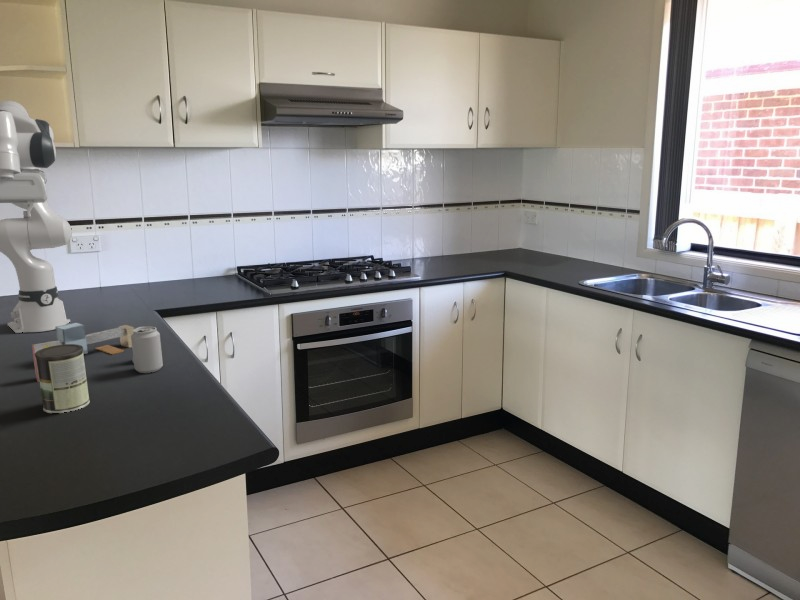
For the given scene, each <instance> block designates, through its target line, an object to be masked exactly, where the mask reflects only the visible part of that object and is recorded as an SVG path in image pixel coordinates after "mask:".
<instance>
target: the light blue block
mask: <svg viewBox="0 0 800 600" xmlns="http://www.w3.org/2000/svg"><path fill="white" fill-rule="evenodd" d="M55 328H56V329H55V334H56V341H62V342H64V344H76V345H81V346H83V355H84V354H88V344H87V343H86V335H87V334H86V330H85V329H86V328H85V324H82V323H79V322H72V323H71V322H70V323H67V324H66V325H61V326H57V327H55Z"/></svg>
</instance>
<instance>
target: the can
mask: <svg viewBox="0 0 800 600" xmlns="http://www.w3.org/2000/svg"><path fill="white" fill-rule="evenodd" d="M139 327H140V328H138V327H135V328H134V330H133V332H134V333H133V334H132V335H131V341H132V347H131V348H132V349H131V351H132V359H134V363H133V366H134V370H135V371H136V372H138V373H140V374H149V373H150V374H151V372H152V373H155V372H158V371H160V370H161V368H162V367H163V365H164V363H163V354H162V343H161V334H160V332H159V331H158V330H157V327H156V326H139Z"/></svg>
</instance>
